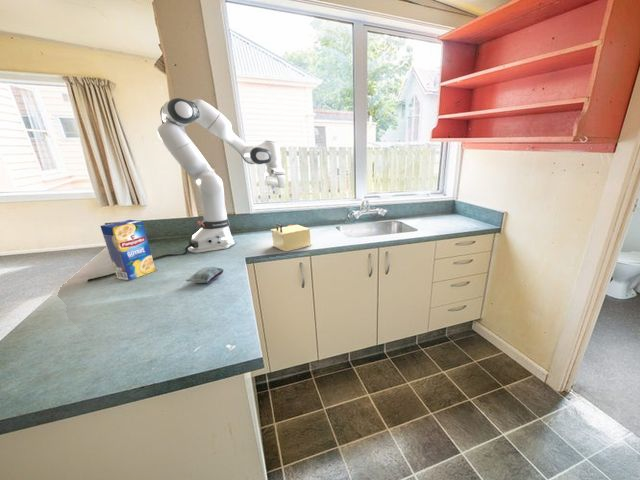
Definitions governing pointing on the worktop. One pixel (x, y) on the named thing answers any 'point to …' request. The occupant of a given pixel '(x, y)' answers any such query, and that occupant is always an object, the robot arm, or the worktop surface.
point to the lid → (288, 229)
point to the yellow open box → (291, 240)
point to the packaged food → (206, 275)
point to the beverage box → (128, 249)
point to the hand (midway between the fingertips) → (275, 193)
